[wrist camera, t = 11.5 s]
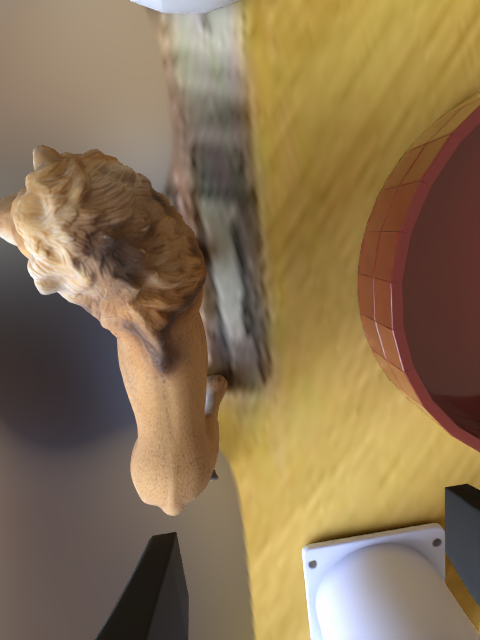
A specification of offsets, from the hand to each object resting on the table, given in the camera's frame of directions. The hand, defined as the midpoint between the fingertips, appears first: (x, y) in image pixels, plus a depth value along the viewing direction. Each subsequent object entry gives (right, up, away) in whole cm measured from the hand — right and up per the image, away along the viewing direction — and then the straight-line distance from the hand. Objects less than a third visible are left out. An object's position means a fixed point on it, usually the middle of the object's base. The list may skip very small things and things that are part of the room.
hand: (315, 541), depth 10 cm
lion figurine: (-6, +5, +8) cm, 11 cm away
